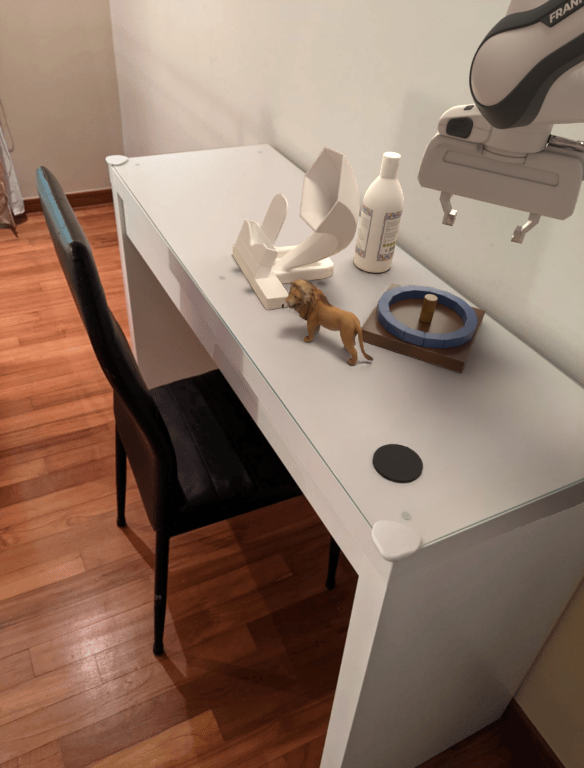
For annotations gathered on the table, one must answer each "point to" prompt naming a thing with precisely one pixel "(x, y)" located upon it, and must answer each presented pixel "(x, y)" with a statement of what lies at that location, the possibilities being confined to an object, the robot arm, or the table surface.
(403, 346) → the platform
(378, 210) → the bath foam
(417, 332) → the ring
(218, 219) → the table surface
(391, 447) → the mat
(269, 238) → the jewelry stand
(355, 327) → the lion figurine
